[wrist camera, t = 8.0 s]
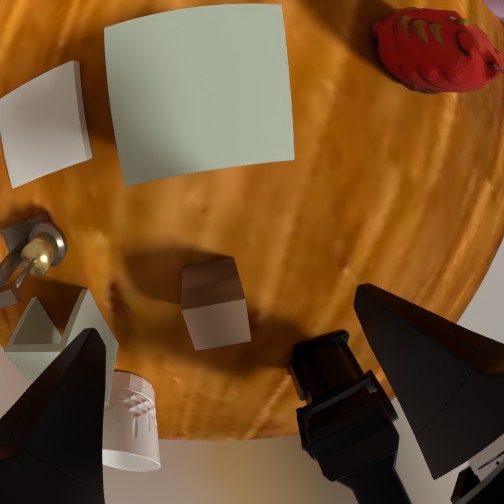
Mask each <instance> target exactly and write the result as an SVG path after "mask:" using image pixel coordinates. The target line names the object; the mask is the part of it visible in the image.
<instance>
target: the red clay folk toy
mask: <svg viewBox="0 0 504 504" xmlns="http://www.w3.org/2000/svg"><path fill="white" fill-rule="evenodd" d="M370 31H371V34H372V36H373V37H374V38H375V39H377V45H376V51H377V53H378V55H379V57H380V59H381V61H382V63H383V64H384V66H385V67H386V68H387V69H388V70H389V71H390V72H391V74H393V75H394V76H395V77H396V78H398V79H399V80H400V81H401V82H402V84H403V85H404V86H405V87H406V88H408V89H410V90H412V91H418V92H421V93H424V94H438V93H440V92H461V93H462V92H467V91H475V90H479V89H481V88H483V87H485V86H486V85H487V84H489V83H490V81H491V80H492V79H495V78H497V77H498V76H499V74H500V72H501V73H504V69H502V67H503V61H502V56H501V53H500V52H499V51H498V50H496V49H494V47H493V46H492V43H491V41H490V39H489V37H488V36H487V35H486V34H485V33H484V32H483V31H482V30H481V29H479V28H478V27H477V26H475V25H473V24H472V23H470V22H469V21H467V20H466V19H463V18H462V17H461V15H460V14H459V13H457V12H456V11H448V10H433V9H425V8H422V9H420V8H415V7H407V8H405V9H394V10H393V11H392V12H391V13H390V15H385V16H384V19H383V20H380V21H376V22H374V23H373V24H372V25H371V28H370Z"/></svg>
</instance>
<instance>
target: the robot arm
mask: <svg viewBox="0 0 504 504" xmlns="http://www.w3.org/2000/svg"><path fill="white" fill-rule="evenodd" d="M354 309H355V312H356V314H357V317H358V319H359V321H360V324H361V326H362V328H363V331H364V333H365V336H366V338H367V341H368V343H369V345H370V347H371V349H372V351H373V353H374V355H375V356H376V358H377V360H378V362H379V364H380V366H381V368H382V370H383V372H384V373H385V375H386V377H387V379H388V381H389V383H390V385H391V387H392V389H393V391H394V393H395V395H396V397H397V399H398V401H399V403H400V405H401V407H402V410H403V412H404V414H405V416H406V418H407V420H408V422H409V424H410V426H411V429H412V431H413V433H414V435H415V437H416V440H417V442H418V445H419V447H420V449H421V451H422V454H423V456H424V458H425V461H426V463H427V465H428V468H429V470H430V473H431V475H432V477H433V479H434V480H435V479H437V478H439V477H441V476H443V475H445V474H446V473H448V472H450V471H451V470H453V469H455V468H457V467H458V466H460V465H461V464H463V463H465V462H466V461H468V463H469V465H468V466H467V467H466V468H465V469H463V470H462V471H461V472H459V475H458V478H457V481H456V484H455V488H454V491H453V494H452V496H451V499H450V500H451V502H452V504H504V344H503V343H500V342H498V341H495V340H493V339H490V338H488V337H485V336H483V335H480V334H478V333H475V332H473V331H470V330H468V329H466V328H464V327H462V326H460V325H457V324H455V323H453V322H451V321H450V322H449V320H447V319H445V318H443V317H441V316H439V315H437V314H434V313H432V312H430V311H428V310H426V309H424V308H422V307H420V306H418V305H415V304H413V303H411V302H409V301H407V300H405V299H403V298H400V297H398V296H396V295H394V294H392V293H390V292H387V291H385V290H383V289H381V288H379V287H377V286H374V285H372V284H370V283H365V284H361V285H358V287H357V289H356V294H355V300H354ZM348 339H349V333H348V332H347V331H344V332H341V333H337V334H334V335H330V336H327V337H323V338H320V339H316V340H312V341H309V342H305V343H301V344H297V345H295V346H294V348H293V360H292V361H291V362H290V375H291V378H292V380H293V383H294V386H295V388H296V391H297V394H298V396H299V399H300V400H301V401H304V400H305V401H306V403H307V405H306V406H304V407H302V408H301V407H300V408H298V409H296V412H297V421H298V426H299V431H300V436H301V446H302V449H303V450H304V451H307V452H308V453H309V455H310V456H311V458H312V459H314V460H317V461H318V463H319V465H320V467H321V470H322V473H323V475H324V476H325V477H326V478H327V479H329V480H330V481H332V482H334V481H337V482H339V483H341V484H343V485H345V486H347V487H349V488H350V489H352V491H353V493H354V495H355V497H356V499H357V501H358V504H413V503H412V501H411V500H410V497H409V495H408V493H407V491H406V489H405V486H404V484H403V482H402V480H401V478H400V476H399V474H398V472H397V470H396V468H395V464H396V458H397V452H398V444H399V434H398V432H397V430H396V428H395V426H394V424H393V422H394V421H395V420H397V419H398V415H397V413H396V411H395V409H394V407H393V405H392V403H391V401H390V400H389V398H388V396H387V395H386V393H385V391H384V390H383V388H382V386H381V385H380V383H379V382H378V380H377V378H376V377H375V375H374V374H373V372H372V371H371V370H369V371H367V372H366V374H364V372H363V371H362V369H361V367H360V365H359V364H358V362H357V360H356V358H355V357H354V355H353V353H352V351H351V350H350V348H349V346H348V345H347V343H348ZM105 391H106V346H105V343H104V341H103V340H102V338H101V336H100V334H99V333H98V331H97V329H96V328H85V329H83V330H82V331H81V332H80V333H79V334H78V335H77V336H76V337H75V338H74V339H73V340H72V341H71V342H70V343H69V344H68V345H67V347H66V348H65V349H64V350H63V351H62V352H61V353H60V354H59V355H58V356H57V357H56V358H55V359H54V360H53V361H52V362H51V363H50V364H49V365H48V367H47V368H46V369H45V370H44V371H43V372H42V373H41V374H40V375H39V376H38V377H37V379H36V380H35V381H34V382H33V383H32V384H31V385H30V386H29V388H28V389H27V390H26V392H24V393H23V395H22V396H21V397H20V398H19V399H18V400H17V402H16V403H15V404H14V405H13V406H12V407H11V408H10V409H9V410H8V411H7V412H6V414H5V415H3V417H2V418H1V419H0V504H105V500H104V493H103V492H104V490H103V462H102V446H103V418H104V403H105ZM373 391H375V392H373ZM371 392H372V393H371Z"/></svg>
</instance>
